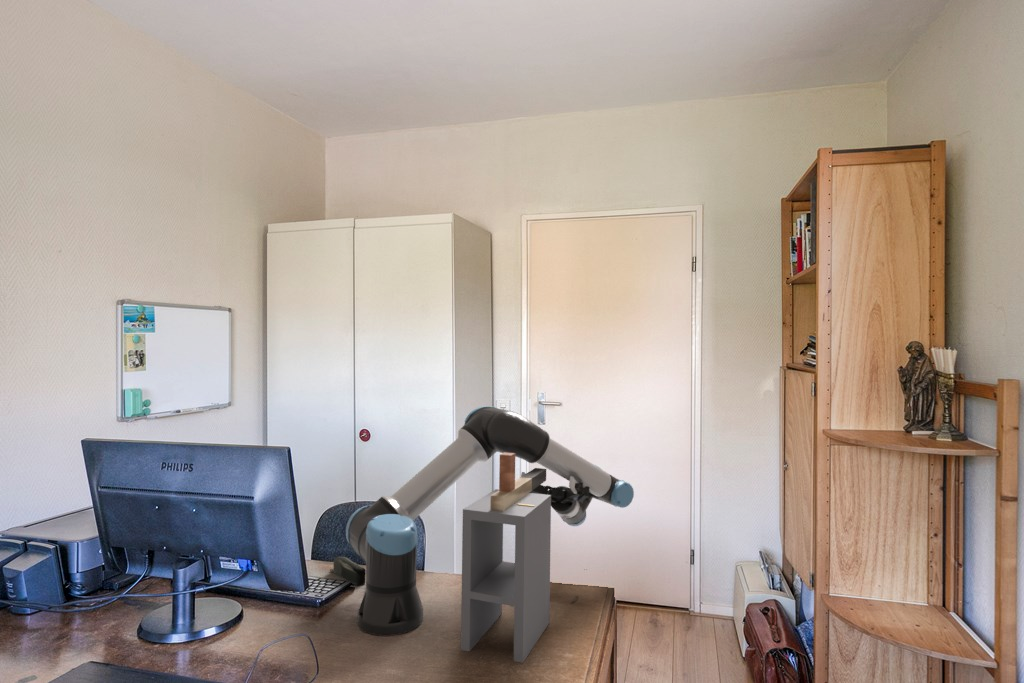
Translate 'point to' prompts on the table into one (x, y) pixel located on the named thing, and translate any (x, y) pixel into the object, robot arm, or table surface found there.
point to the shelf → (506, 570)
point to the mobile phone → (349, 570)
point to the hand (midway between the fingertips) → (546, 479)
